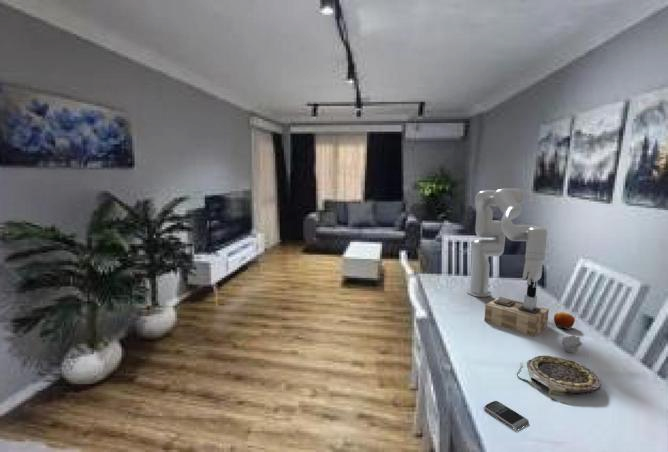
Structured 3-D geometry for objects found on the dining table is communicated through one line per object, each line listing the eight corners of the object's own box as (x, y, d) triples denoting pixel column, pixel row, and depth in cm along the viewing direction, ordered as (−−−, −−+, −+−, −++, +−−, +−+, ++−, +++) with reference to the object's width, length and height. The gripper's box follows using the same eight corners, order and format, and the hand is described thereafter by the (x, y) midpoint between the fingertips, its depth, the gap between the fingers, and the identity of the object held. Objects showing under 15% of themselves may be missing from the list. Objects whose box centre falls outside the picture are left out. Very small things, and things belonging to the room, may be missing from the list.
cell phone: (495, 403, 112) (495, 399, 112) (529, 425, 102) (530, 420, 102) (481, 410, 109) (482, 405, 108) (516, 433, 99) (516, 428, 99)
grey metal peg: (525, 312, 168) (527, 293, 167) (535, 314, 166) (537, 295, 164) (522, 314, 166) (524, 295, 164) (532, 316, 163) (534, 297, 161)
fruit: (554, 326, 164) (555, 309, 166) (552, 329, 170) (553, 312, 173) (575, 330, 160) (576, 312, 163) (573, 333, 166) (573, 316, 169)
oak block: (498, 312, 184) (499, 295, 182) (546, 325, 168) (548, 307, 167) (484, 320, 173) (485, 302, 172) (534, 336, 157) (536, 316, 156)
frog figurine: (572, 357, 140) (574, 340, 138) (556, 348, 146) (558, 332, 145) (584, 355, 141) (586, 338, 140) (568, 347, 148) (570, 330, 147)
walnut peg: (500, 316, 177) (502, 299, 176) (509, 319, 174) (510, 301, 173) (497, 318, 174) (498, 301, 173) (505, 321, 172) (507, 303, 170)
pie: (526, 353, 143) (528, 341, 142) (614, 380, 126) (616, 367, 125) (507, 385, 121) (509, 371, 121) (610, 423, 104) (613, 407, 104)
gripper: (531, 251, 169) (528, 290, 172) (519, 256, 159) (515, 297, 162) (549, 254, 164) (545, 294, 167) (538, 259, 154) (534, 301, 156)
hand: (531, 295), depth 164 cm, fingers closed
